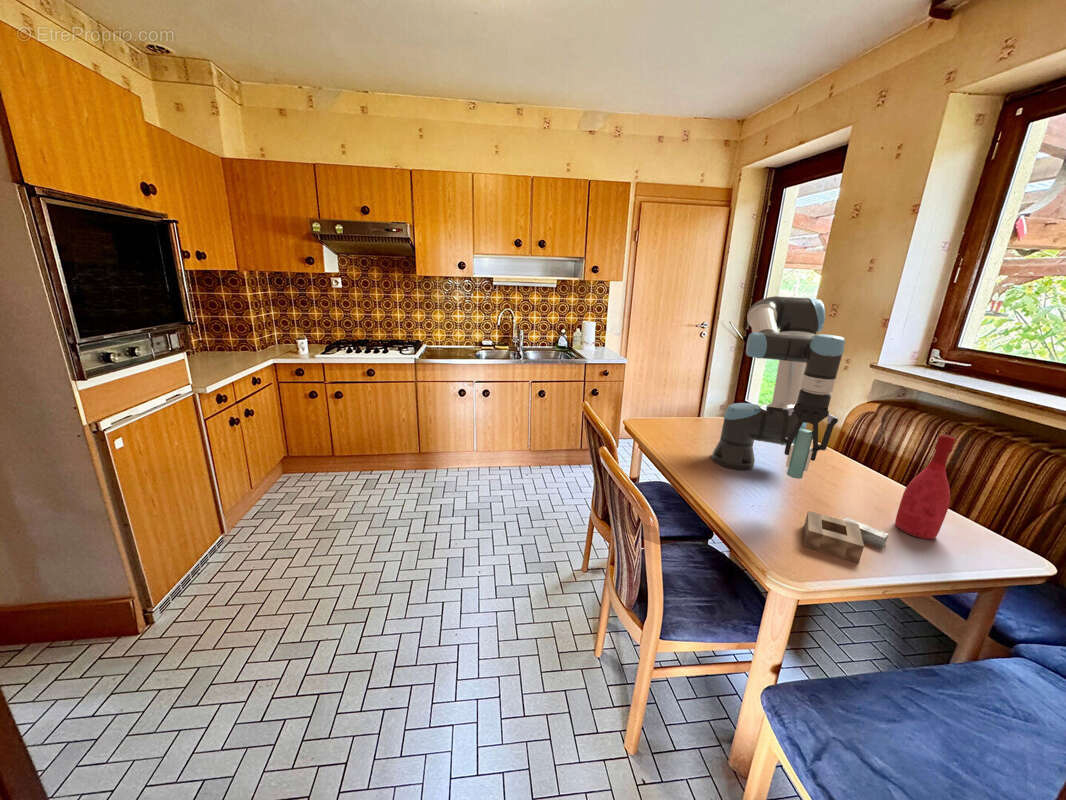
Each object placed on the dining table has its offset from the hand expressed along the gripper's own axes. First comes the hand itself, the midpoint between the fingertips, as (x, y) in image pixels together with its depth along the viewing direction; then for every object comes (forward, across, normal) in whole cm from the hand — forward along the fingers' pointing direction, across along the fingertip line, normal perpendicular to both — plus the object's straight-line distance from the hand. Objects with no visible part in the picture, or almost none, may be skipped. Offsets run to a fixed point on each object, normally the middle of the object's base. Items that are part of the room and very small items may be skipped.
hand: (796, 467), depth 125 cm
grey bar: (+16, +19, -1) cm, 25 cm away
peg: (+3, 0, 0) cm, 3 cm away
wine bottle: (+16, +33, +13) cm, 39 cm away
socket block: (+16, +11, -10) cm, 22 cm away
